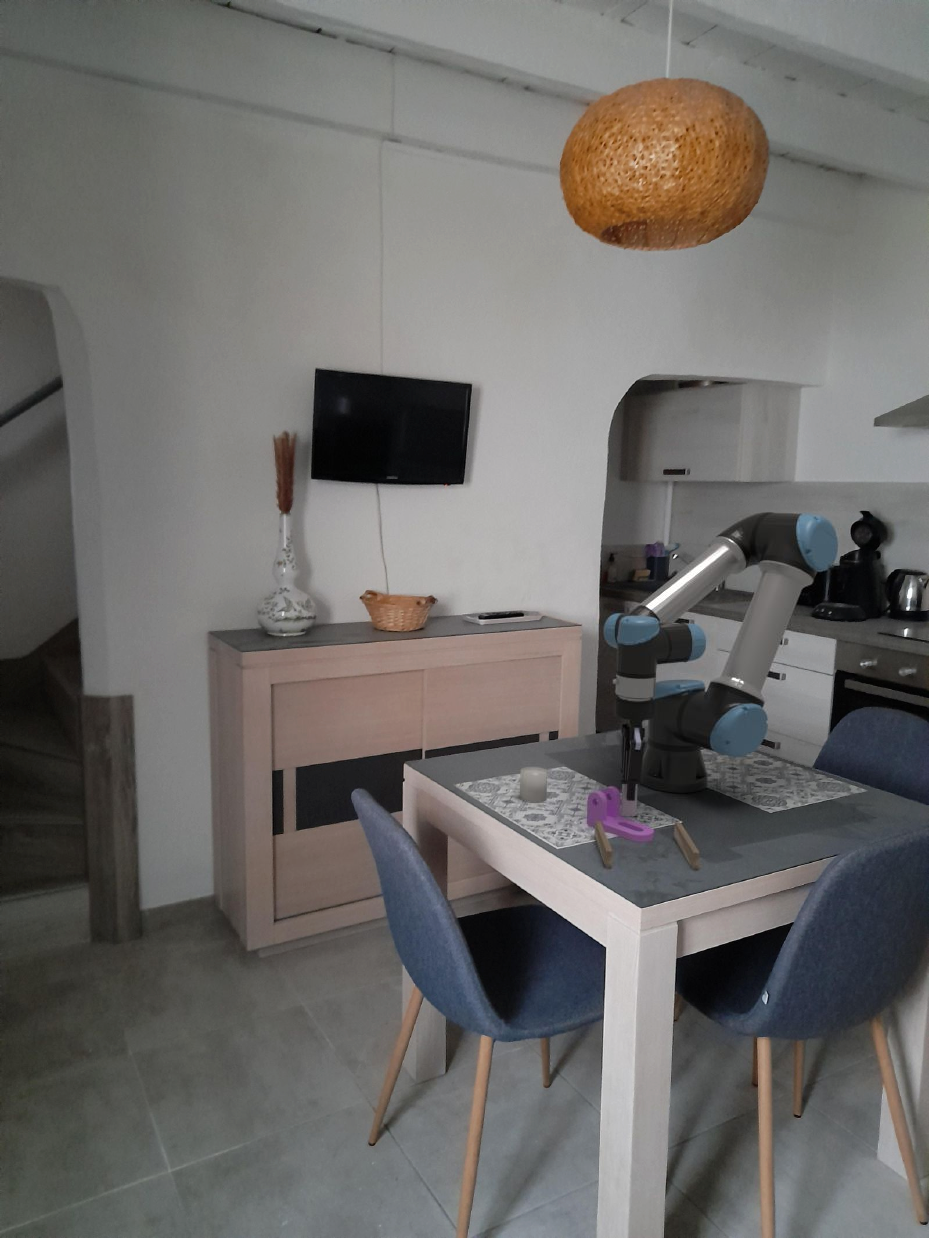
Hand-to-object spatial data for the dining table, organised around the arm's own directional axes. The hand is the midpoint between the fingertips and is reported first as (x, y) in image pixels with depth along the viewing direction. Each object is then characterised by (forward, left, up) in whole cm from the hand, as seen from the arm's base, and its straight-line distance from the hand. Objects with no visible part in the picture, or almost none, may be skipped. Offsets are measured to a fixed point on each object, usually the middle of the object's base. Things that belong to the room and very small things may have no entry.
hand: (628, 814), depth 173 cm
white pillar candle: (+18, -12, -2) cm, 22 cm away
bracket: (+2, +4, -2) cm, 5 cm away
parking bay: (0, +15, -2) cm, 15 cm away
